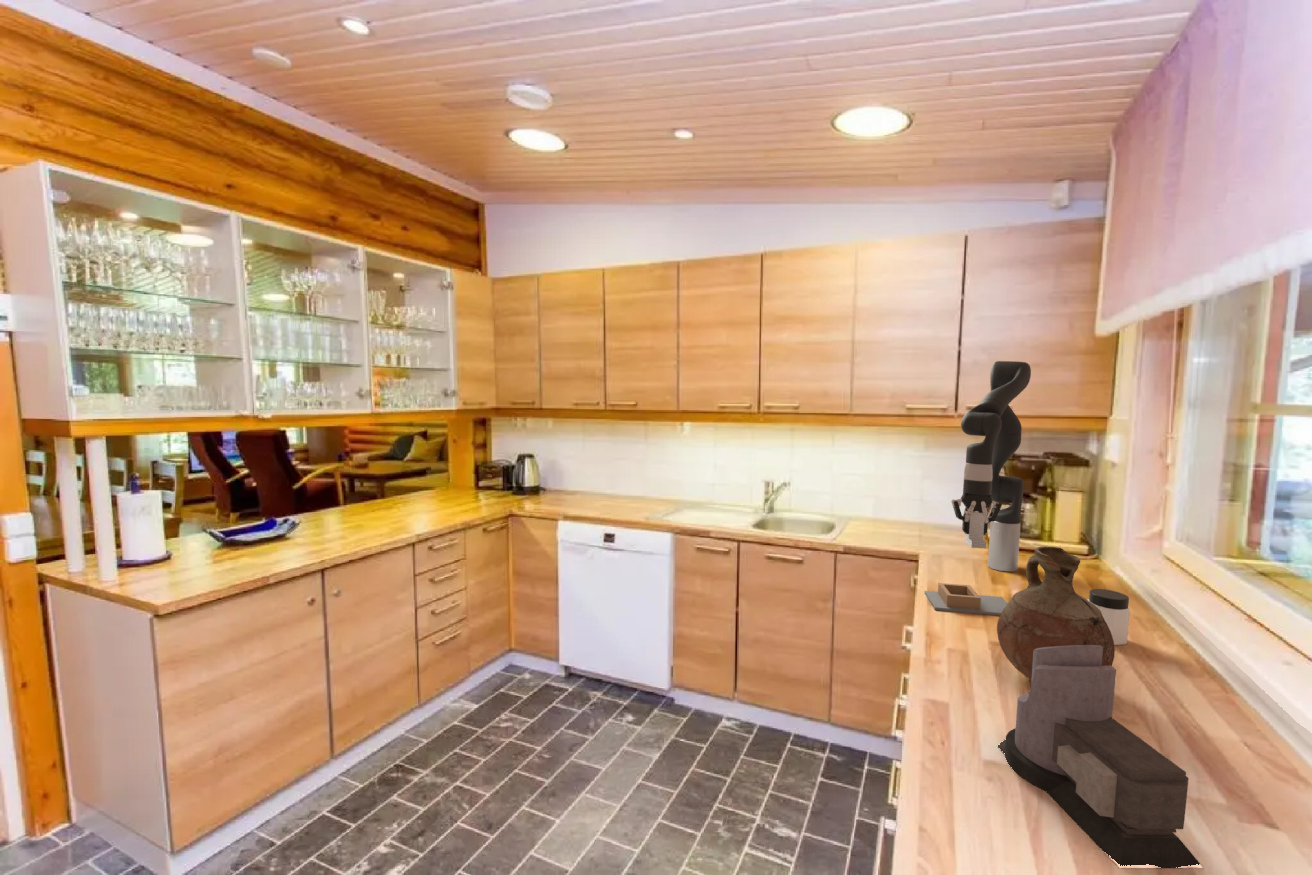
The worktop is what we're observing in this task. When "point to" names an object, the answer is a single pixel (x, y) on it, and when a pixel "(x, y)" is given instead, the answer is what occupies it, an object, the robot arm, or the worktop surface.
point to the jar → (1113, 612)
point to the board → (964, 600)
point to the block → (976, 531)
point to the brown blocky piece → (1097, 760)
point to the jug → (1050, 613)
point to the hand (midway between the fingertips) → (974, 533)
